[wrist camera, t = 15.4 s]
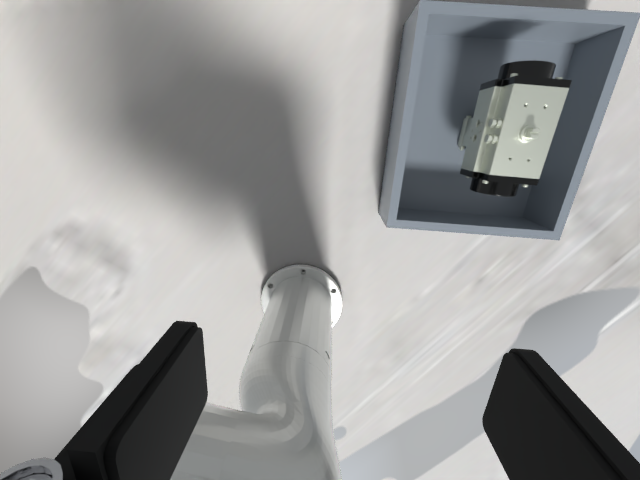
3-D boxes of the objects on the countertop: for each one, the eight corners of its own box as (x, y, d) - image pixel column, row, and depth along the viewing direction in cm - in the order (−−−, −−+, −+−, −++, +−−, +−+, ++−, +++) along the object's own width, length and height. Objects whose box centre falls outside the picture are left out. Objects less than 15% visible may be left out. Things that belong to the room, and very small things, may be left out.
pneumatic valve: (506, 81, 35) (590, 57, 23) (480, 182, 39) (540, 203, 27) (458, 77, 35) (519, 51, 23) (437, 179, 39) (479, 198, 27)
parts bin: (523, 222, 41) (559, 240, 35) (378, 212, 42) (386, 227, 35) (581, 36, 34) (641, 12, 27) (403, 25, 34) (420, -1, 27)
